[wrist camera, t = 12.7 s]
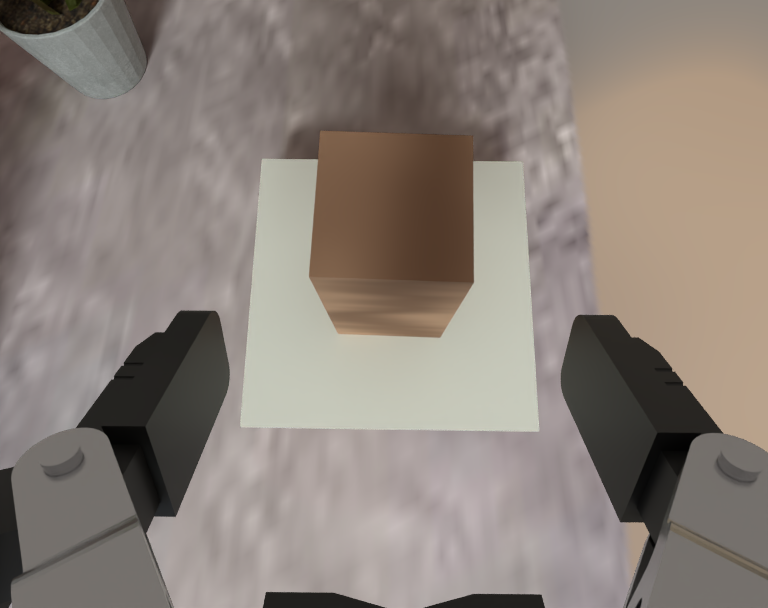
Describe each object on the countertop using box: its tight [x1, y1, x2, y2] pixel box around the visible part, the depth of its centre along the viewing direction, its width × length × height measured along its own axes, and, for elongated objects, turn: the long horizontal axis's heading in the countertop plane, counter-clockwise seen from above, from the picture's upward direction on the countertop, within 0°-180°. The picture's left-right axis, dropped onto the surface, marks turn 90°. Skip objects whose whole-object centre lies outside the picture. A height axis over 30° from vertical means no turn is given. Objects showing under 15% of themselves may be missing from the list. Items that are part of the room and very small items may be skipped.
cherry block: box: [309, 131, 474, 338], centre depth 20 cm, size 5×5×10 cm
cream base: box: [240, 159, 539, 432], centre depth 27 cm, size 14×14×4 cm
